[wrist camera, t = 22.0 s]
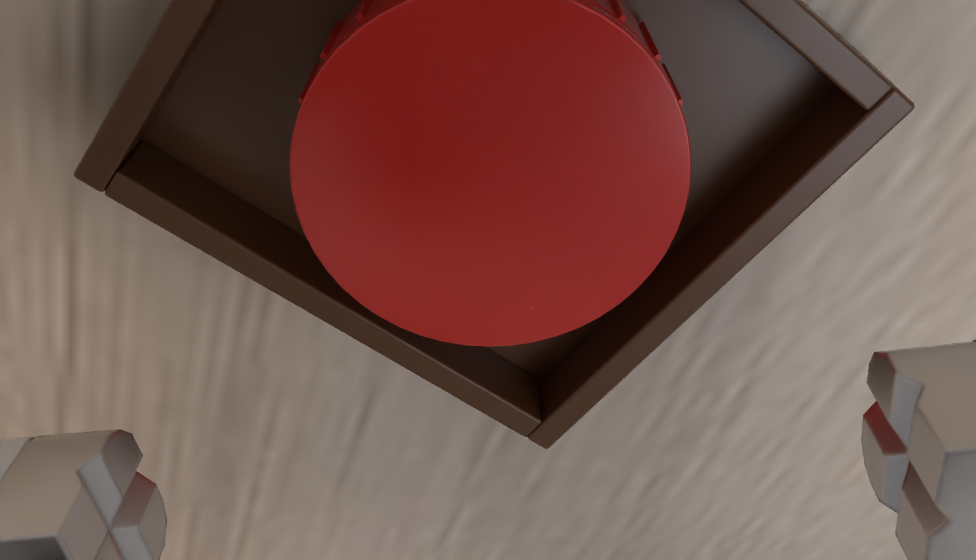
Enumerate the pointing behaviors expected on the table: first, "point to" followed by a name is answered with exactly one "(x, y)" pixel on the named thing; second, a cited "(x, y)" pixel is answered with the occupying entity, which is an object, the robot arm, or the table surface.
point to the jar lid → (490, 163)
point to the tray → (498, 369)
